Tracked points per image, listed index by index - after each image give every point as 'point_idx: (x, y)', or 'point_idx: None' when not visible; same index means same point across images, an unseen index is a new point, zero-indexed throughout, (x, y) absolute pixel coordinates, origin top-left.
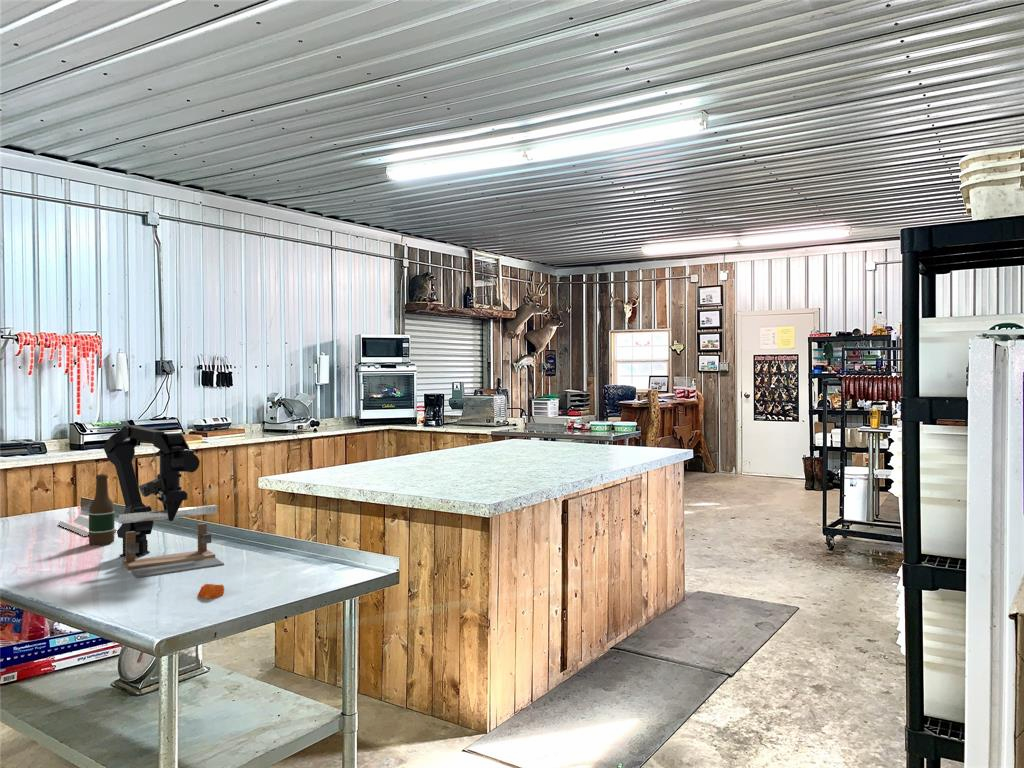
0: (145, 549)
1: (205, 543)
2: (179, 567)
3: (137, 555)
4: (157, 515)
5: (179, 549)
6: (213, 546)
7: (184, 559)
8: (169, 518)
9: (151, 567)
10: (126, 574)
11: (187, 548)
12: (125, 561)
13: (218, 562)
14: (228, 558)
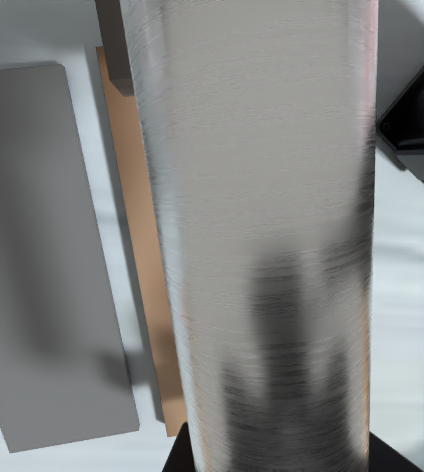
0: (420, 169)
1: None
2: (8, 289)
3: (382, 127)
4: (177, 349)
5: (416, 312)
6: (381, 429)
7: (147, 321)
8: (172, 455)
9: (68, 168)
10: (6, 35)
11: (413, 342)
12: None
13: (36, 436)
14: (130, 465)
